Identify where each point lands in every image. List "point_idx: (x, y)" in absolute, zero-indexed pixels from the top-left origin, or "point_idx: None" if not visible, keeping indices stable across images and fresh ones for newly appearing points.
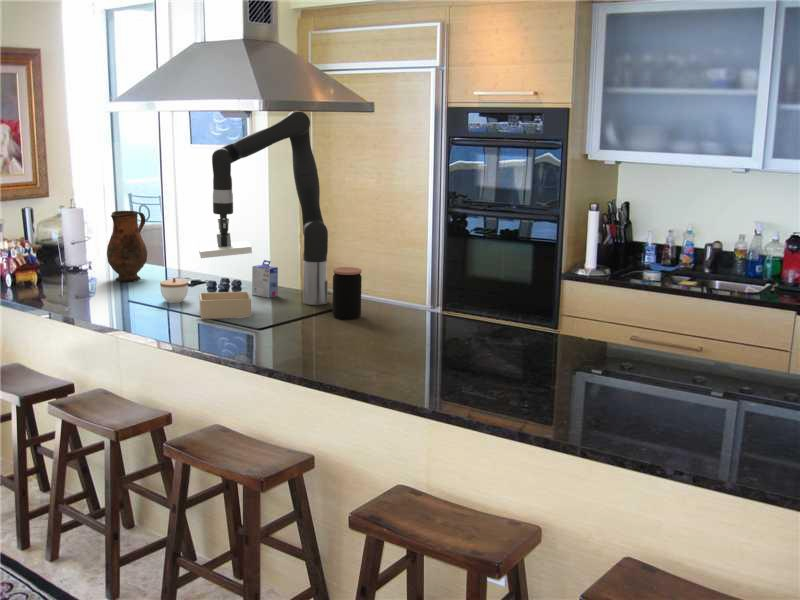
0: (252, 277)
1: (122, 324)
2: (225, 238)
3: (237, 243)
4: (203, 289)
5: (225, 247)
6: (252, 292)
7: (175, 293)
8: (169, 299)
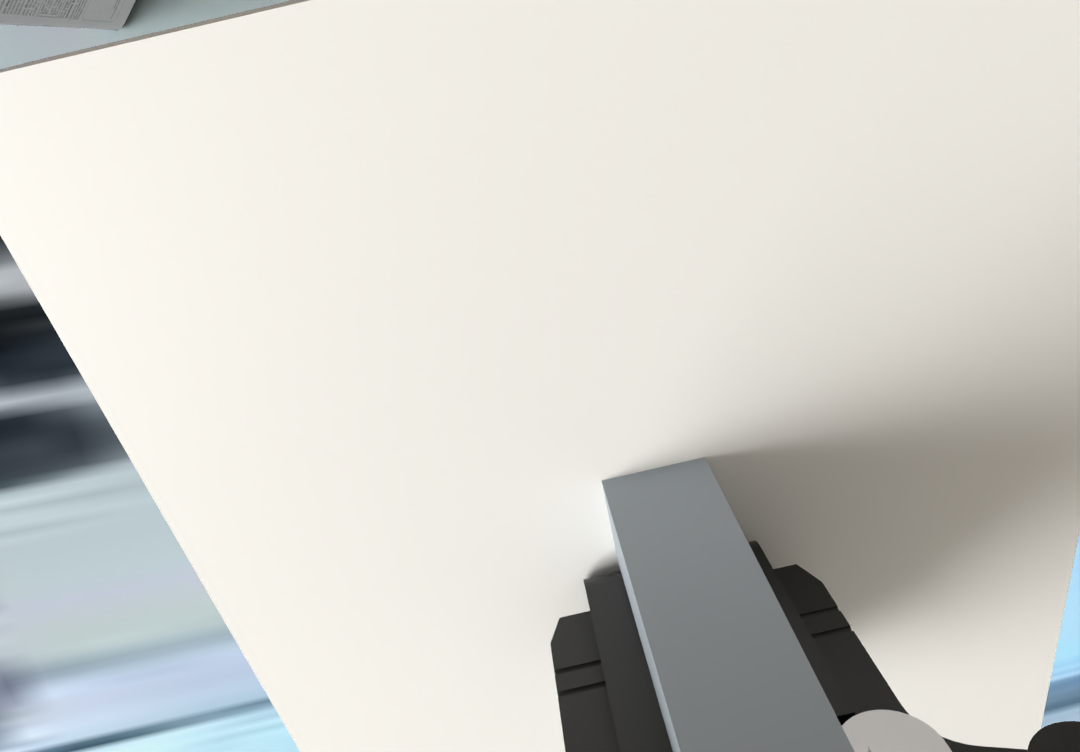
0: (15, 19)
1: (1062, 711)
2: (899, 706)
3: (386, 364)
4: (17, 518)
5: (854, 538)
6: (114, 23)
7: None
8: None
